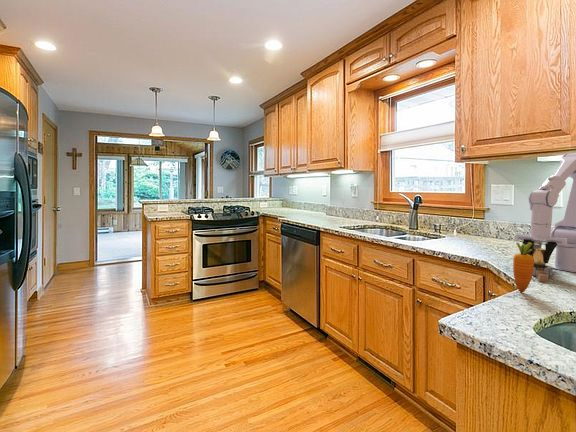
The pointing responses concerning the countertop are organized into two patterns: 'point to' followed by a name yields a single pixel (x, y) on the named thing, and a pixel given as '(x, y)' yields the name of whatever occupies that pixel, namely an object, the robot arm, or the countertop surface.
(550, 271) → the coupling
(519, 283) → the carrot
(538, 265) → the peg
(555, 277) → the countertop surface
